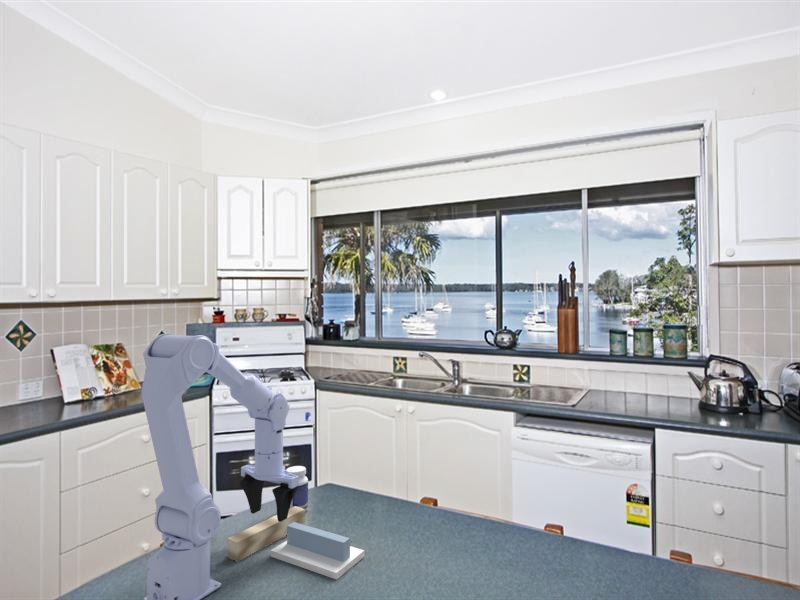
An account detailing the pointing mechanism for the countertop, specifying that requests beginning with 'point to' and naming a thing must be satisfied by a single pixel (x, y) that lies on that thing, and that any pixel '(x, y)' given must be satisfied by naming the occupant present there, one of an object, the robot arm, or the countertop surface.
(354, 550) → the ridge stand
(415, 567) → the countertop surface
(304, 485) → the pill bottle
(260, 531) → the beam
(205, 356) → the robot arm
